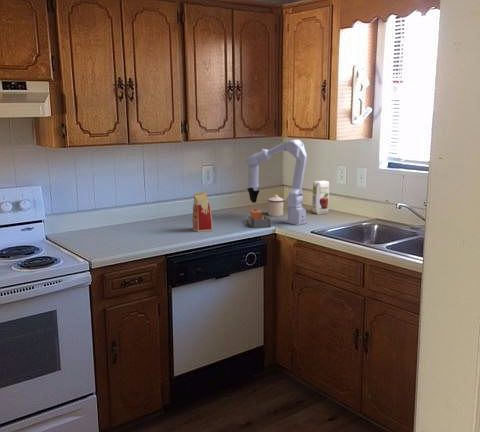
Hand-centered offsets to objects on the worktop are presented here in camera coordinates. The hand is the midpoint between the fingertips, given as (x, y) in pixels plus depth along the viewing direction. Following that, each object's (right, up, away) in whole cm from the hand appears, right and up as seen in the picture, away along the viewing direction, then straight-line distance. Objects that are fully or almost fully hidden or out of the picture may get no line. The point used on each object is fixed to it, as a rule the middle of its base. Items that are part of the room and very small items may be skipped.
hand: (253, 201), depth 294 cm
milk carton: (-27, -15, -26) cm, 40 cm away
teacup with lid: (+13, -7, +13) cm, 20 cm away
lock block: (+1, -11, -7) cm, 13 cm away
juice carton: (+40, -7, +16) cm, 43 cm away
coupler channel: (+3, -13, -16) cm, 21 cm away
